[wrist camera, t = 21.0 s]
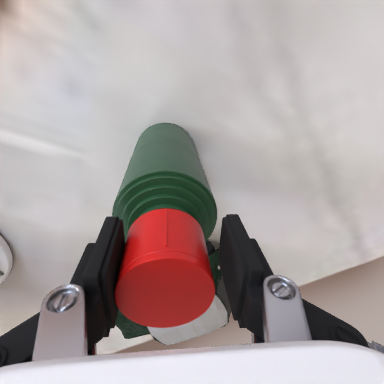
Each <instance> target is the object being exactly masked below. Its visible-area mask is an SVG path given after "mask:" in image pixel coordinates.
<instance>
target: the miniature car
mask: <svg viewBox="0 0 384 384" xmlns="http://www.w3.org/2000/svg"><path fill="white" fill-rule="evenodd" d="M205 243H206V248H207V252H208V257H209V261H210V266H211V270H212V275H213V279H214V283H215V296H214V300H213V302H212V304H211V306H210V307H209V308H208V310H207V311H206V312H205V313H204V314H202V315H201V316H200V317H198V318H197V319H195V320H193V321H191V322H189V323H186V324H184V325H180V326H176V327H169V328H154V327H148V326H144V325H140V324H138V323H135V322H133V321H131V320H130V319H128V318H127V317H126V316H124V315H123V314H122V313H121V311H120V310H119V309H118V314H117V319H116V324H115V325H116V326H117V327H118V328H119V329H120V330H121V331H122V334H123V336H124V338H126V339H130V338H134V337H138V336H142V335H147V334H151V335H152V337H153V338H154V339H155V340H156V341H159V342H160V343H162V344H164V345H171V344H175V343H178V342H182V341H185V340H188V339H192V338H195V337H198V336H202V335H205V334H209V333H210V332H212V331H214V330H216V329H218V328H221V327H223V326H226V325H227V323H228V322H229V316H230V313H231V308H230V304H229V300H228V296H227V293H226V289H225V285H224V281H223V278H222V274H221V270H220V266H219V262H218V255H219V250H218V249H216V250H217V251H215V249H214V246H213V245H212V244H211V243H210V242H209V241H206V242H205Z"/></svg>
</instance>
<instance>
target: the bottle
mask: <svg viewBox="0 0 384 384" xmlns="http://www.w3.org/2000/svg"><path fill="white" fill-rule="evenodd" d="M164 208H168V209H176V210H180V211H183V212H185V213H187V214H189V215H191V216H192V217H193V218H194V219H195V220H196V221H197V222H198V223H199V224H200V226H201V228H202V231H203V234H204V239H205V242H206V241H207V240H208V238H209V237H210V235H211V234H212V232H213V230H214V228H215V225H216V220H217V207H216V203H215V200H214V197H213V195H212V192H211V189H210V186H209V184H208V181H207V178H206V175H205V173H204V170H203V167H202V164H201V162H200V159H199V156H198V153H197V151H196V148H195V145H194V142H193V140H192V138H191V137H190V135H189V134H188V133H187V132H186V131H185V130H184V129H183V128H181V127H179V126H177V125H175V124H171V123H159V124H156V125H153V126H151V127H149V128H148V129H146V130H145V131H144V132H143V133H142V134H141V136H140V137H139V139H138V142H137V144H136V147H135V150H134V152H133V155H132V158H131V160H130V163H129V165H128V168H127V171H126V173H125V176H124V179H123V181H122V184H121V187H120V189H119V192H118V195H117V197H116V200H115V203H114V206H113V213H112V217H119V219H122V220H123V226H124V236H125V243H126V239H127V234H128V231H129V229H130V227H131V225H132V224H133V223H134V222H135V221H136V220H137V219H138V218H139V217H140V216H142V215H143V214H145V213H147V212H150V211H153V210H156V209H164Z"/></svg>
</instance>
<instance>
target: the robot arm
mask: <svg viewBox="0 0 384 384" xmlns="http://www.w3.org/2000/svg"><path fill="white" fill-rule="evenodd" d="M124 248H125V236H124V226H123V220H122V219H119V217H106V219H105V221H104V224H103V226H102V229H101V231H100V233H99V236H98V238H97V241H96V243H89V244H88V245H87V246H86V248H85V251H84V253H83V255H82V257H81V260H80V262H79V264H78V266H77V268H76V271H75V273H74V275H73V277H72V280H71V282H70V284H66V285H62V286H60V287H57V288H56V289H54V290H52V291H51V292H50V293H49V294H47V296H46V297H45V298H44V300H43V302H42V305H41V310H40V312H39V313H37V314H36V315H34V316H33V317H31V318H29V319H28V320H26V321H25V322H23V323H21V324H20V325H18V326H17V327H15V328H13V329H12V330H10V331H9V332H7V333H5V334H4V335H2V336H1V337H0V384H384V346H382V345H380V344H378V343H376V342H374V341H372V343H369V342H367V341H366V339H365V338H364V337H363V335H362V334H361V333H360V332H359V331H358V330H357V329H355V328H354V327H352V326H351V325H349V324H348V323H346V322H344V321H342V320H340V319H338V318H336V317H335V316H333V315H331V314H329V313H328V312H326V311H324V310H322V309H320V308H318V307H316V306H315V305H313V304H311V303H309V302H307V301H306V300H304V299H302V298H301V294H300V291H299V288H298V286H297V285H296V284H295V283H294V282H293V281H292V280H290V279H288V278H286V277H284V276H281V275H274V274H273V272H272V270H271V268H270V266H269V264H268V263H267V261H266V259H265V257H264V255H263V253H262V251H261V249H260V247H259V245H258V243H257V241H256V240H255V239H250V238H249V236H248V234H247V232H246V230H245V228H244V226H243V224H242V222H241V220H240V218H239V216H238V215H237V214H229V215H226V217H223V220H222V228H221V237H220V246H219V255H218V262H219V266H220V270H221V274H222V278H223V281H224V285H225V289H226V293H227V296H228V300H229V304H230V308H231V311H232V315H233V319H234V320H238V323H239V326H240V328H247V329H248V330H250V331H251V332H252V344H240V345H225V346H211V347H197V348H185V349H170V350H156V351H143V352H130V353H117V354H105V355H97V351H96V343H97V342H98V341H100V340H101V339H102V338H103V337H109V332H110V328H114V327H115V324H116V319H117V314H118V309H119V308H118V307H117V305H116V302H115V295H114V293H115V287H116V283H117V278H118V274H119V269H120V265H121V261H122V256H123V252H124ZM12 264H13V258H12V253H11V250H10V248H9V246H8V244H7V243H6V241H5V240H4V239H3V237H2V236H1V235H0V284H1V283H2V282H3V281H4V280H5V278H6V277H7V276H8V275H9V273H10V271H11V269H12Z"/></svg>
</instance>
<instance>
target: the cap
mask: <svg viewBox="0 0 384 384" xmlns="http://www.w3.org/2000/svg"><path fill="white" fill-rule="evenodd" d="M114 295H115V302H116V305H117V307H118V308H119V310H120V311H121V313H122V314H123V315H124V316H126V317H127V318H128V319H130V320H131V321H133V322H135V323H138V324H140V325H144V326H148V327H154V328H169V327H176V326H180V325H184V324H186V323H189V322H191V321H193V320H195V319H197V318H198V317H200V316H201V315H202V314H204V313H205V312H206V311H207V310H208V308H209V307H210V306H211V304H212V302H213V300H214V296H215V283H214V279H213V275H212V270H211V266H210V261H209V257H208V252H207V248H206V243H205V239H204V234H203V231H202V228H201V226H200V224H199V223H198V222H197V221H196V220H195V219H194V218H193V217H192V216H191V215H189V214H187V213H185V212H183V211H180V210H176V209H168V208H164V209H156V210H153V211H150V212H147V213H145V214H143V215H142V216H140V217H139V218H138V219H137V220H136V221H135V222H134V223H133V224H132V225H131V227H130V229H129V231H128V234H127V239H126V243H125V248H124V252H123V256H122V261H121V265H120V269H119V274H118V278H117V283H116V287H115V293H114Z"/></svg>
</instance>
